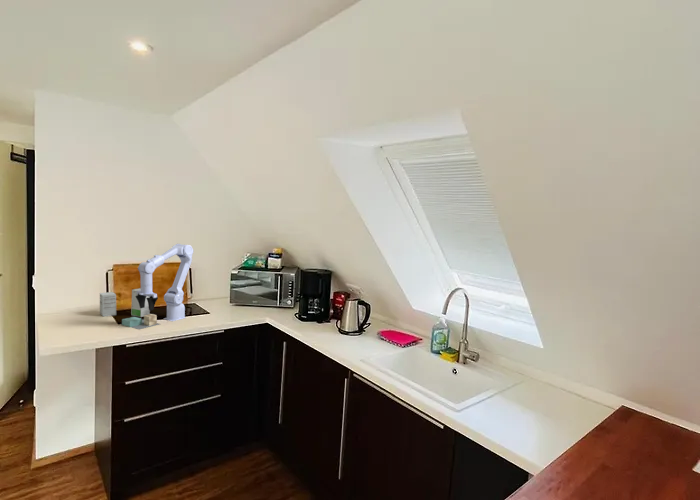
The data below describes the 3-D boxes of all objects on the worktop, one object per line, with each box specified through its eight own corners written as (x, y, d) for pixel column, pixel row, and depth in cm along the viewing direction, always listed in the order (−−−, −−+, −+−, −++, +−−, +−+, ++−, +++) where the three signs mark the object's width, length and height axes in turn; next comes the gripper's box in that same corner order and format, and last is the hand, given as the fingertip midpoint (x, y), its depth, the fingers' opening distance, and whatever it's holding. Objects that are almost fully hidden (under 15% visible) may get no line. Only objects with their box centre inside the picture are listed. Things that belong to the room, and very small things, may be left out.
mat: (142, 319, 241) (142, 319, 241) (160, 324, 233) (160, 324, 233) (120, 325, 229) (120, 324, 229) (139, 330, 222) (139, 329, 222)
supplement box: (99, 314, 249) (99, 292, 248) (113, 312, 254) (113, 291, 253) (102, 316, 244) (101, 295, 242) (116, 315, 248) (116, 293, 247)
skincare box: (130, 315, 248) (130, 289, 247) (140, 313, 254) (140, 287, 253) (141, 317, 245) (141, 291, 244) (150, 315, 251) (150, 289, 250)
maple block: (151, 322, 235) (151, 313, 234) (156, 324, 233) (156, 315, 232) (144, 324, 231) (143, 315, 231) (149, 325, 229) (149, 316, 228)
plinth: (134, 322, 235) (134, 316, 234) (142, 324, 231) (142, 318, 231) (122, 324, 229) (122, 319, 228) (130, 327, 225) (130, 321, 225)
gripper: (131, 283, 228) (131, 308, 229) (148, 287, 221) (148, 312, 222) (143, 281, 234) (143, 305, 235) (160, 285, 227) (160, 309, 228)
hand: (146, 309), depth 229 cm, fingers open, 7 cm apart
